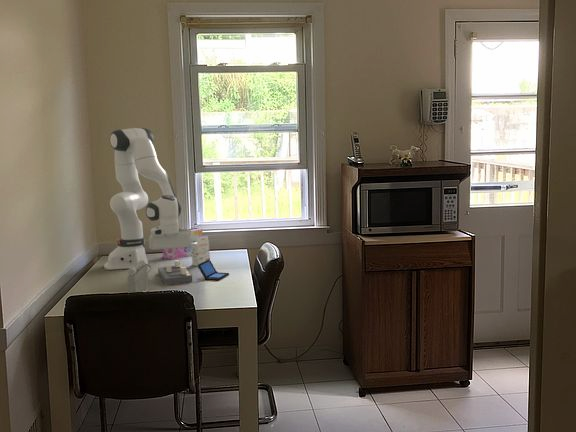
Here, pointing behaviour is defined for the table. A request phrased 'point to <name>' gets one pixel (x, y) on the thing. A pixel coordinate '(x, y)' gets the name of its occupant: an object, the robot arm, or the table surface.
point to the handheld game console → (210, 271)
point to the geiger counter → (138, 277)
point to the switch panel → (174, 275)
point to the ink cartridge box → (200, 251)
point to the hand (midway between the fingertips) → (170, 257)
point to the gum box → (186, 250)
